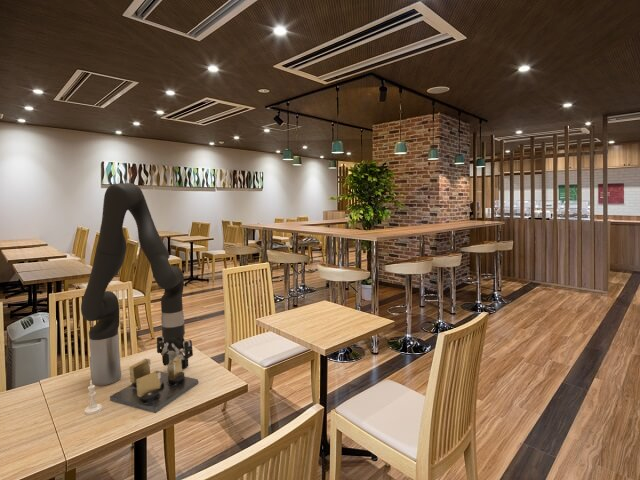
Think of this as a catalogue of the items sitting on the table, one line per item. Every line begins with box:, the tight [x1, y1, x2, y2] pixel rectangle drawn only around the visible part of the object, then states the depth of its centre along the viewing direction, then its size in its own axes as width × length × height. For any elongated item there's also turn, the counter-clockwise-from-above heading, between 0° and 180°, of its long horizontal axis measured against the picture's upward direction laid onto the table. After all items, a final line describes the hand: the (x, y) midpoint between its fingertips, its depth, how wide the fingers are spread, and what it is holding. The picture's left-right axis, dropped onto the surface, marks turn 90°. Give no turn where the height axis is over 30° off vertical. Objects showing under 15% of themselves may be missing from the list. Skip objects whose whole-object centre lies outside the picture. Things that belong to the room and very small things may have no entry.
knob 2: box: [136, 370, 161, 402], centre depth 122 cm, size 7×6×8 cm
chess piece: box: [84, 379, 103, 416], centre depth 118 cm, size 5×5×10 cm
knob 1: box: [128, 358, 151, 387], centre depth 132 cm, size 7×6×8 cm
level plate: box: [109, 370, 199, 413], centre depth 129 cm, size 20×20×3 cm
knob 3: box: [167, 356, 186, 384], centre depth 133 cm, size 7×6×8 cm
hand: (175, 366), depth 133 cm, fingers open, 8 cm apart
